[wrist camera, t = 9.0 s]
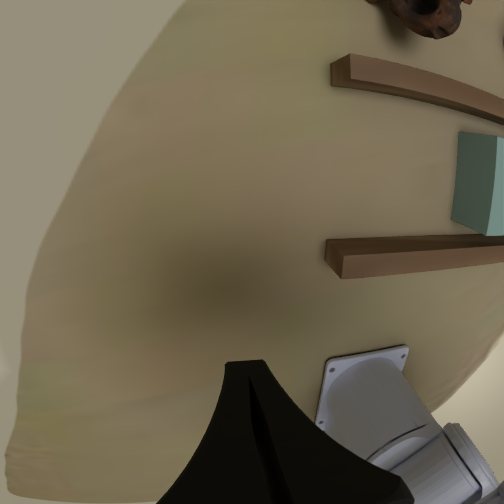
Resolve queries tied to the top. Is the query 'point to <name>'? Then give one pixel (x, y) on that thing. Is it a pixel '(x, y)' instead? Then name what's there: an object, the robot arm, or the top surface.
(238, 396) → the robot arm
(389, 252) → the guide channel
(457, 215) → the block
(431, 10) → the pottery mug
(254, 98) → the top surface
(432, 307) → the top surface
